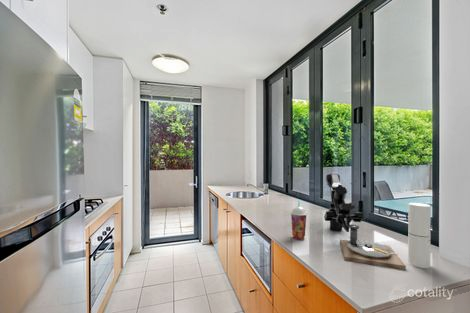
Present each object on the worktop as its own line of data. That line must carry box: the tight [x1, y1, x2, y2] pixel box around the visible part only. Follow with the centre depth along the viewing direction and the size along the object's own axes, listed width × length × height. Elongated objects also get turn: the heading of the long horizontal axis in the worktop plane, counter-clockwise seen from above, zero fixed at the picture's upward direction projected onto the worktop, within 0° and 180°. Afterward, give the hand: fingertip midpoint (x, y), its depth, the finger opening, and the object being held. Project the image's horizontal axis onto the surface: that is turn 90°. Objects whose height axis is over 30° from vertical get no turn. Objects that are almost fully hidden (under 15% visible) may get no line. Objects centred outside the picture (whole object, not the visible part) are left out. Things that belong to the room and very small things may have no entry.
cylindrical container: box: [407, 202, 432, 269], centre depth 93 cm, size 7×7×25 cm
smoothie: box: [290, 201, 308, 241], centre depth 122 cm, size 8×8×20 cm
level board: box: [339, 238, 407, 271], centre depth 102 cm, size 22×22×2 cm
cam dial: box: [348, 224, 391, 258], centre depth 102 cm, size 17×17×10 cm
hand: (347, 231), depth 112 cm, fingers closed
